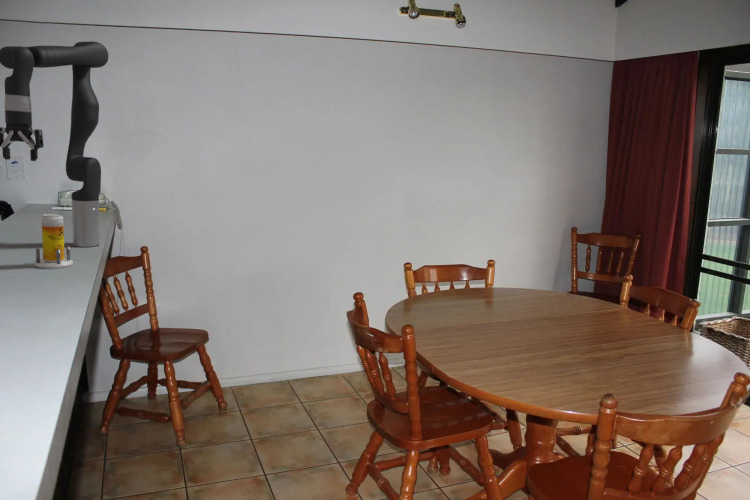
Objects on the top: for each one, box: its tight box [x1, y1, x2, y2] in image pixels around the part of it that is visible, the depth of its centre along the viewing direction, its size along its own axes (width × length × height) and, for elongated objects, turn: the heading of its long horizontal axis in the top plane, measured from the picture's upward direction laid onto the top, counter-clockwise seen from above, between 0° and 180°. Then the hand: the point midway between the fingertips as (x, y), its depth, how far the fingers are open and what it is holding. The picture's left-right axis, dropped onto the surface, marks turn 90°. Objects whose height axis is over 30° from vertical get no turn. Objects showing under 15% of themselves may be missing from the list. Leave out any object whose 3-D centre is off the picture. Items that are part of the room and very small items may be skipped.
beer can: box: [41, 213, 66, 263], centre depth 190 cm, size 6×6×15 cm
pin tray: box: [33, 245, 74, 270], centre depth 191 cm, size 11×11×6 cm
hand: (20, 160), depth 197 cm, fingers open, 8 cm apart
